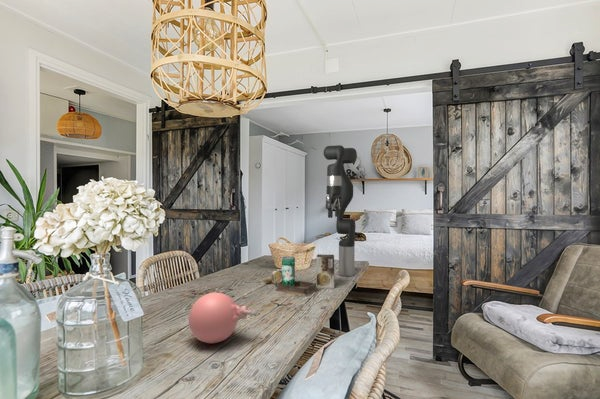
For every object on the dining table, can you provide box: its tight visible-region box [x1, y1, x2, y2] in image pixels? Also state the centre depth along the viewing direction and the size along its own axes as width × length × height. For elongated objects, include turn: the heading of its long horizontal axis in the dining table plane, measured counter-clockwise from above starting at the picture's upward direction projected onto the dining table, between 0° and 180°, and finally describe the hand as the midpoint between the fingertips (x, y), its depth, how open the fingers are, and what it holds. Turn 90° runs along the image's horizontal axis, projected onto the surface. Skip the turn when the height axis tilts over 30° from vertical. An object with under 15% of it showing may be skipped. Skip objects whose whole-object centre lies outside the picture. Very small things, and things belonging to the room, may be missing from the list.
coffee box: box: [316, 254, 335, 289], centre depth 169 cm, size 9×6×16 cm
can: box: [281, 256, 296, 287], centre depth 164 cm, size 6×6×15 cm
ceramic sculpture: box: [262, 267, 282, 286], centre depth 175 cm, size 11×9×15 cm
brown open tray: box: [275, 280, 317, 297], centre depth 162 cm, size 11×17×3 cm, turn 60°
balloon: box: [188, 292, 253, 344], centre depth 105 cm, size 15×20×15 cm
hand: (333, 217), depth 166 cm, fingers open, 8 cm apart
